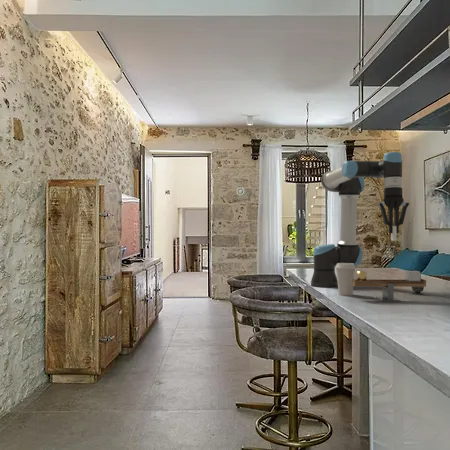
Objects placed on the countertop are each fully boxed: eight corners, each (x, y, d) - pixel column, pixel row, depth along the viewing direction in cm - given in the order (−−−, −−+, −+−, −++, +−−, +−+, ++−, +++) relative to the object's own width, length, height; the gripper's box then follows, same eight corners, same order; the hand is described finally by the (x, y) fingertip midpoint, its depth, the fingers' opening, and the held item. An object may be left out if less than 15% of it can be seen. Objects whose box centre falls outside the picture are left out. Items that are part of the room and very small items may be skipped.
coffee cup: (357, 296, 192) (356, 264, 192) (336, 295, 194) (335, 264, 194) (354, 293, 201) (354, 262, 202) (334, 293, 203) (334, 262, 204)
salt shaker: (414, 292, 203) (413, 268, 203) (426, 294, 198) (426, 269, 198) (409, 294, 199) (408, 269, 199) (421, 295, 194) (420, 270, 195)
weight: (356, 282, 184) (356, 270, 184) (365, 282, 183) (365, 270, 183) (358, 283, 180) (358, 271, 180) (367, 283, 179) (367, 271, 179)
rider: (404, 282, 182) (404, 270, 182) (416, 282, 182) (416, 270, 182) (408, 283, 177) (408, 271, 178) (420, 283, 177) (420, 271, 177)
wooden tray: (351, 284, 185) (351, 278, 185) (419, 284, 183) (419, 278, 183) (354, 286, 178) (354, 279, 178) (426, 286, 176) (426, 280, 176)
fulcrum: (375, 298, 185) (375, 281, 185) (393, 298, 184) (393, 281, 185) (381, 301, 176) (381, 283, 176) (400, 302, 175) (400, 283, 176)
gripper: (380, 186, 178) (381, 240, 178) (411, 186, 177) (412, 240, 176) (375, 188, 186) (376, 240, 185) (405, 188, 184) (406, 240, 184)
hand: (393, 240), depth 181 cm, fingers closed
